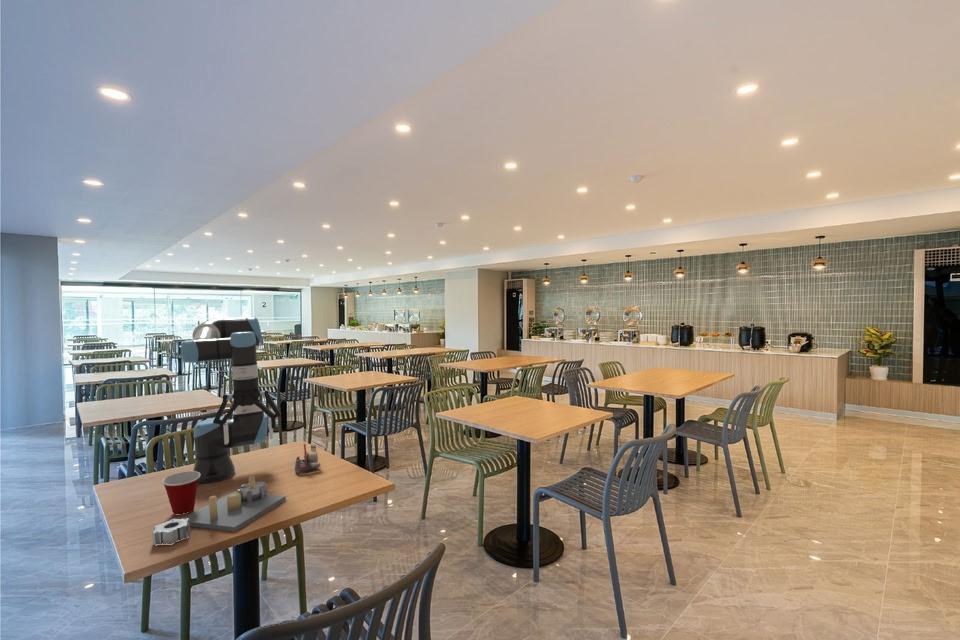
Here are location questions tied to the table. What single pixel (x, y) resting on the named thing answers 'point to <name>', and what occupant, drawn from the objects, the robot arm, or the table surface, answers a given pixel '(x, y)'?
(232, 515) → the plate
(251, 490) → the seated gear
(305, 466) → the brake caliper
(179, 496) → the plastic cup
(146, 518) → the table surface
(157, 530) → the planet gear
